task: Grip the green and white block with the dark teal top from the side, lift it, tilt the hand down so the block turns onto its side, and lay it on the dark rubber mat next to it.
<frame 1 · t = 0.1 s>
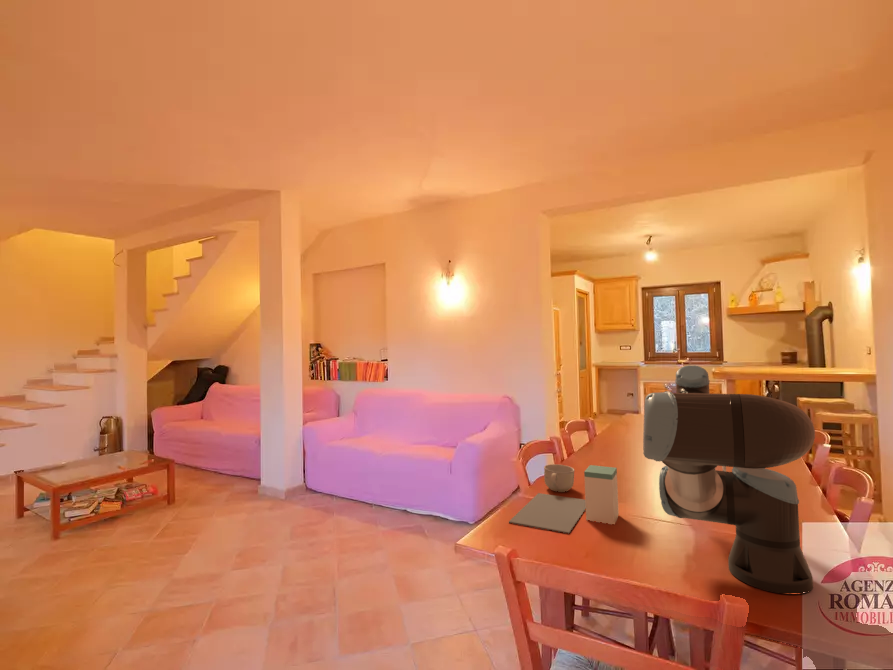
hand: (697, 468, 130), 15 cm above the table, tool tilted 35°, fingers open, 13 cm apart
green and white block: (602, 517, 134), on the table
teacup: (558, 491, 160), on the table
rubber mat: (552, 511, 140), on the table
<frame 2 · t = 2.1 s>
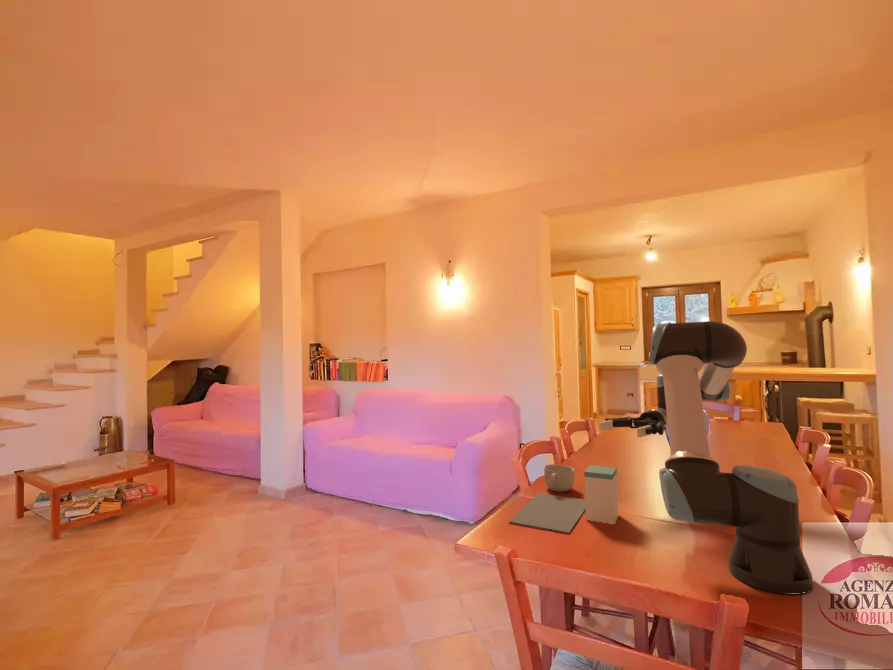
hand: (618, 429, 140), 25 cm above the table, tool horizontal, fingers open, 13 cm apart
nothing on the table moved.
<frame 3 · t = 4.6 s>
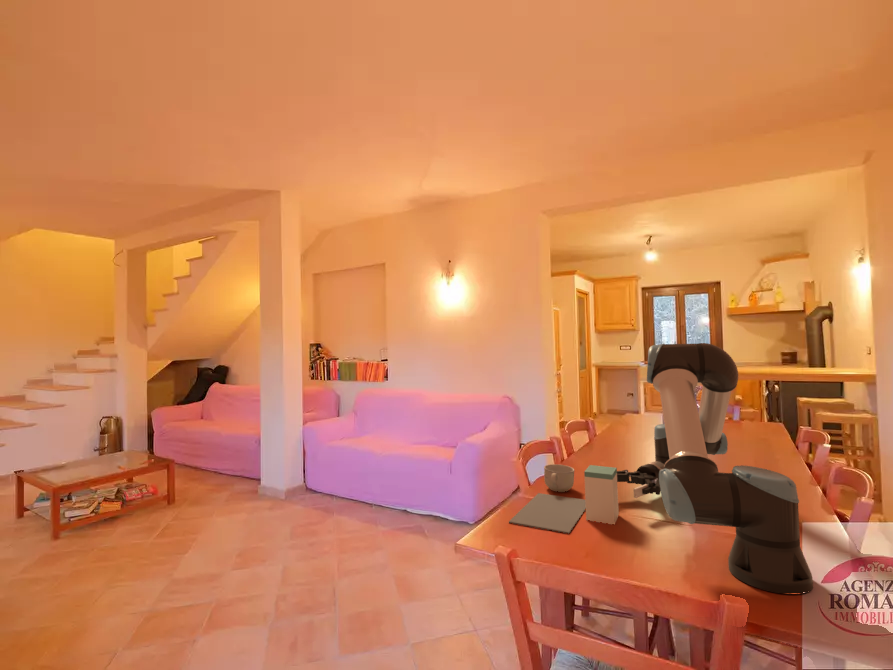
hand: (614, 487, 139), 7 cm above the table, tool horizontal, fingers open, 13 cm apart
nothing on the table moved.
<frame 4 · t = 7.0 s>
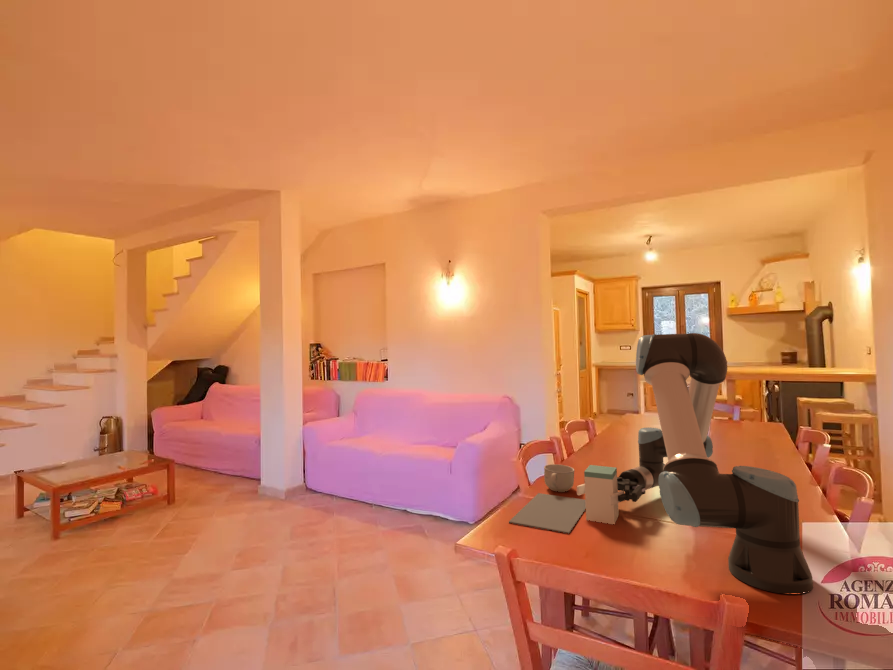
hand: (593, 495, 132), 8 cm above the table, tool horizontal, fingers closed on green and white block, 11 cm apart
green and white block: (602, 517, 134), on the table, touching gripper
everything else where it was.
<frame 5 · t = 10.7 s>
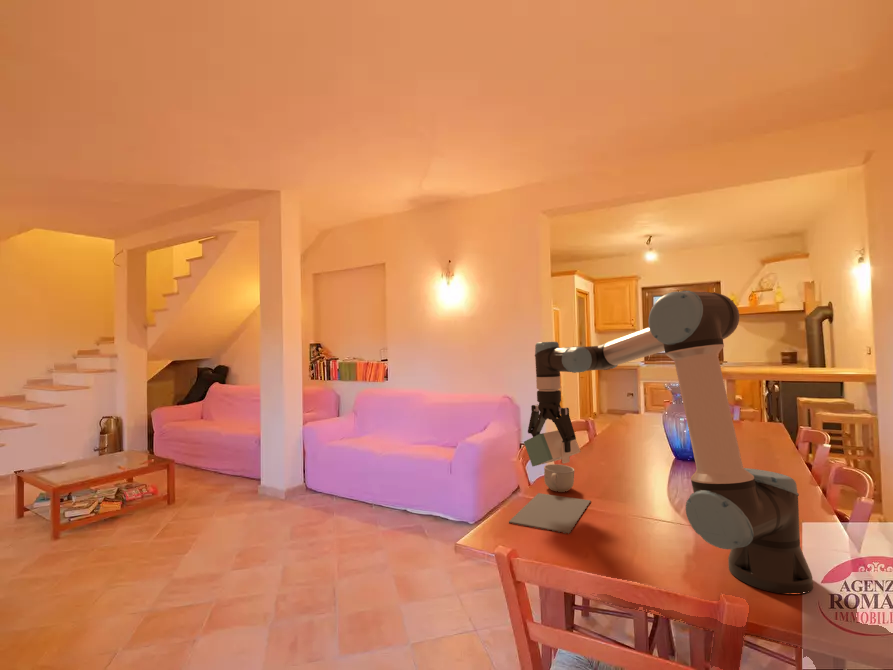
hand: (551, 459, 141), 16 cm above the table, tool pointing down, fingers closed on green and white block, 11 cm apart
green and white block: (567, 443, 145), point 20 cm above the table, tilted 90°, touching gripper
everything else where it was.
when the fingers open (3 cm above the table, at t = 14.6 s): green and white block drops 2 cm and tips over, resting on rubber mat.
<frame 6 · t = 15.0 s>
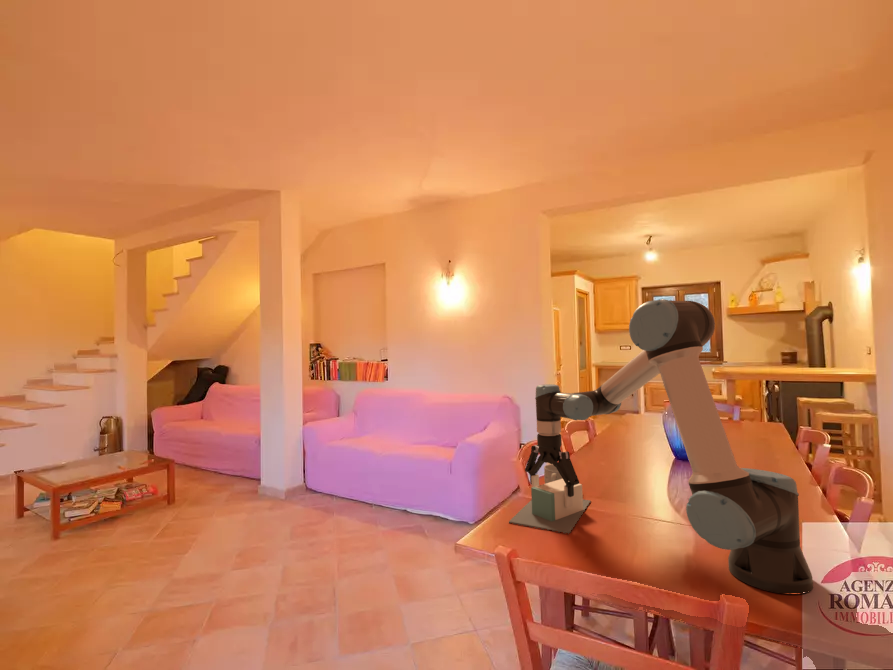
hand: (551, 500, 140), 4 cm above the table, tool pointing down, fingers open, 13 cm apart
green and white block: (572, 493, 143), point 4 cm above the table, tilted 90°, touching rubber mat
everything else where it was.
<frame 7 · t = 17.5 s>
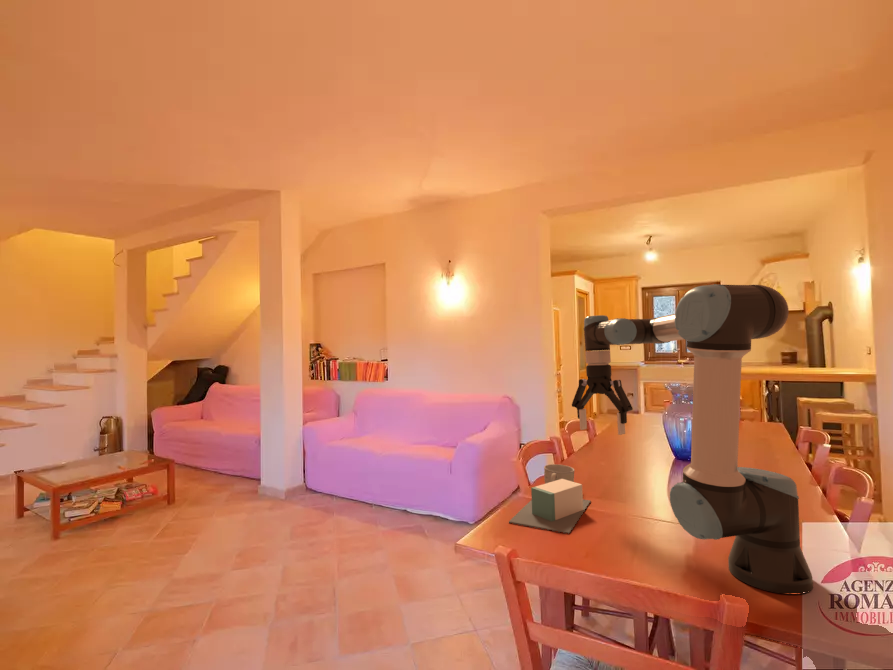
hand: (601, 431, 139), 25 cm above the table, tool pointing down, fingers open, 13 cm apart
nothing on the table moved.
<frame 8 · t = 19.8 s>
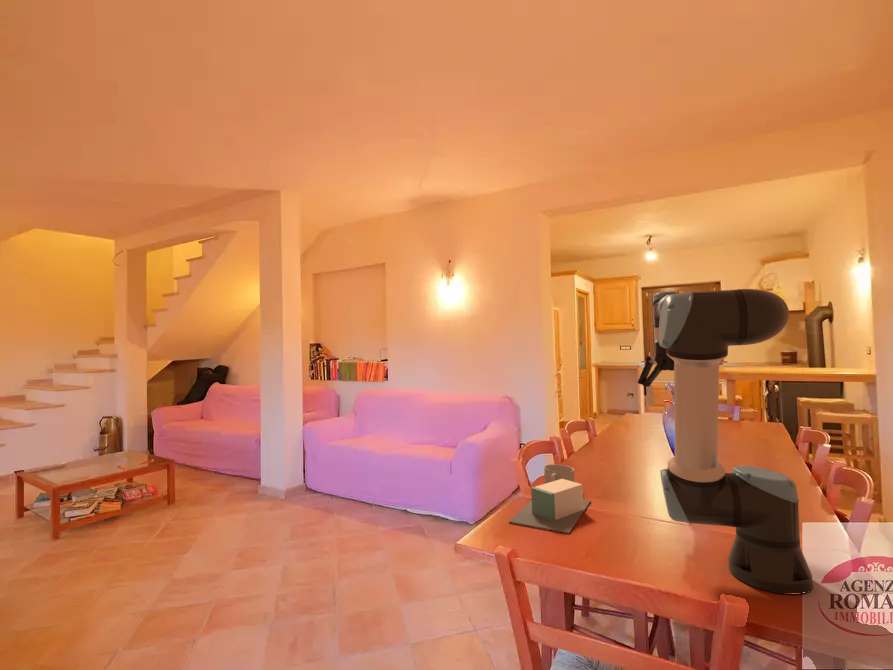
hand: (670, 408, 139), 32 cm above the table, tool pointing down, fingers open, 13 cm apart
nothing on the table moved.
at the end: green and white block tilted 90°; green and white block touching rubber mat; the gripper is holding nothing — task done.
